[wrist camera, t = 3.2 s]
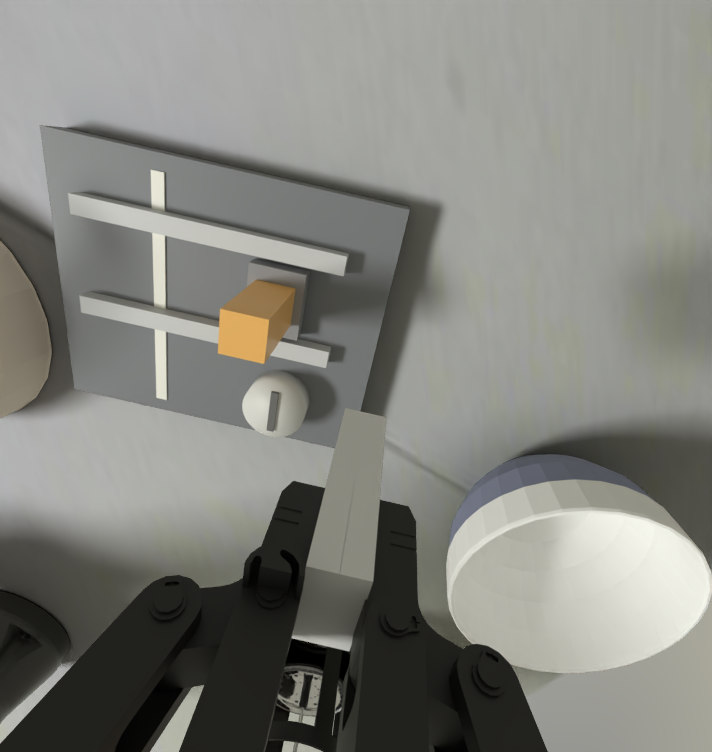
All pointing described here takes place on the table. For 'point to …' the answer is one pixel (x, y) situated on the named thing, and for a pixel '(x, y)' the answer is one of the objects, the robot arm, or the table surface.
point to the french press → (309, 698)
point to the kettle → (20, 337)
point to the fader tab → (263, 311)
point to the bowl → (571, 568)
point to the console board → (214, 282)
